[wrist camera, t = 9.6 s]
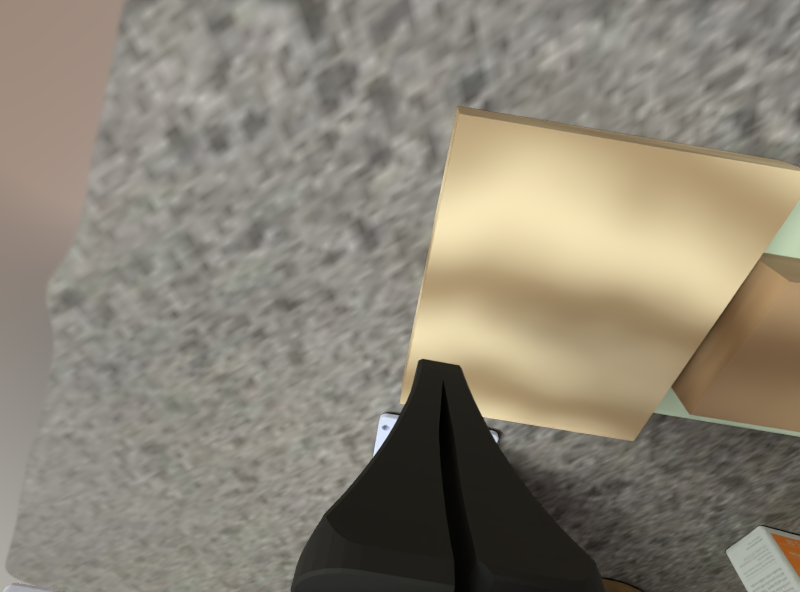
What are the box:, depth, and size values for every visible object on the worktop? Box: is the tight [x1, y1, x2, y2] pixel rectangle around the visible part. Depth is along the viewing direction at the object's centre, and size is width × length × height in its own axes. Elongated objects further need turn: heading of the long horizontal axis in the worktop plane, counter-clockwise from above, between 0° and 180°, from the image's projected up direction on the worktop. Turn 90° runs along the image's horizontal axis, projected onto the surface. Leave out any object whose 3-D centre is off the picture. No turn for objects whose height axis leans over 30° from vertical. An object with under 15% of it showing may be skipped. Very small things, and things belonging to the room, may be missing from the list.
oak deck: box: [400, 106, 800, 441], centre depth 21 cm, size 16×14×2 cm
